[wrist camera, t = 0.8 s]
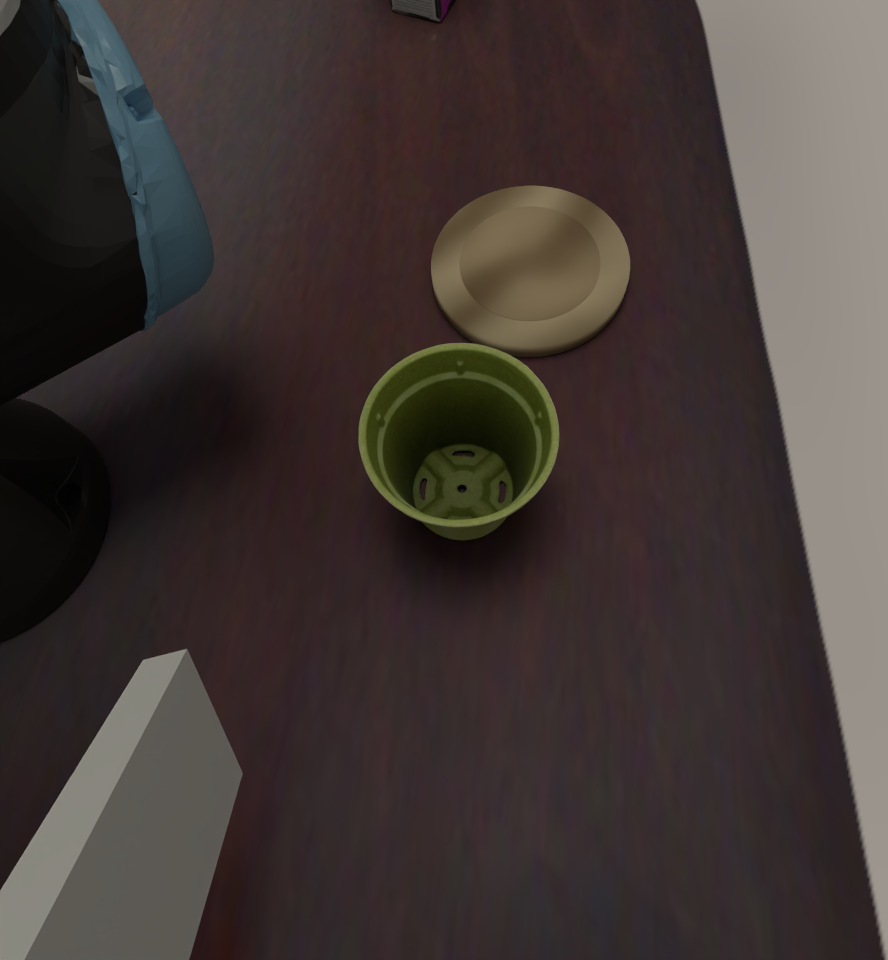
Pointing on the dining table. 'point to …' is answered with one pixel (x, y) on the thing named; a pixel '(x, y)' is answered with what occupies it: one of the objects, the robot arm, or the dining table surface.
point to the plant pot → (459, 437)
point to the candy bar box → (422, 8)
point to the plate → (530, 270)
